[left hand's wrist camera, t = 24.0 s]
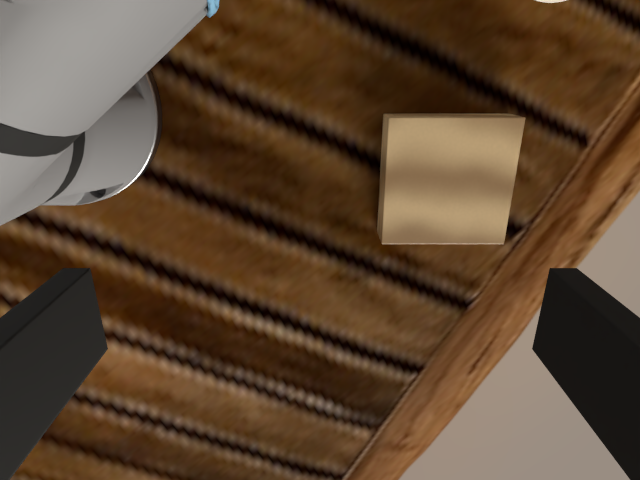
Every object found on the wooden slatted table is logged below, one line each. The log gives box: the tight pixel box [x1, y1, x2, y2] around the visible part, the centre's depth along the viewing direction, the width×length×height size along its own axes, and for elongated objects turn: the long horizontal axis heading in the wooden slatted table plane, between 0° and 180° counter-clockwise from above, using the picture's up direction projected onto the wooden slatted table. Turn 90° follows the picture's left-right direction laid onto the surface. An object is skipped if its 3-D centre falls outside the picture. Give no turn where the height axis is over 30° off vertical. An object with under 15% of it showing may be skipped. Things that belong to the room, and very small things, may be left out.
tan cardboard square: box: [377, 114, 525, 244], centre depth 35 cm, size 10×10×3 cm
